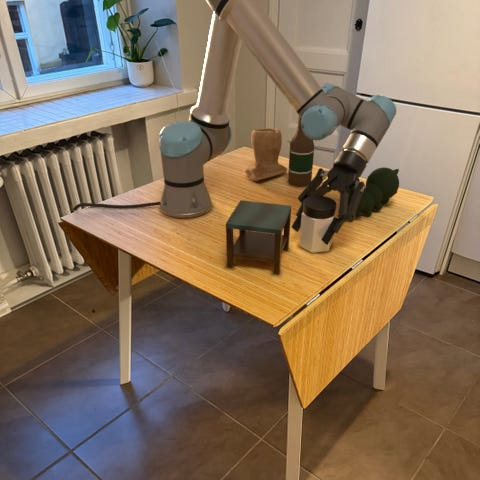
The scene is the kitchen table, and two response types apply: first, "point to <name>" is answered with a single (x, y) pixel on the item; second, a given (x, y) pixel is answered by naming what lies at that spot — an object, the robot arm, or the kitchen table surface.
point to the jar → (316, 223)
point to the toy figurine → (376, 190)
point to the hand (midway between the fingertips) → (309, 235)
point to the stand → (258, 232)
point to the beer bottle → (300, 158)
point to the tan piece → (265, 154)
